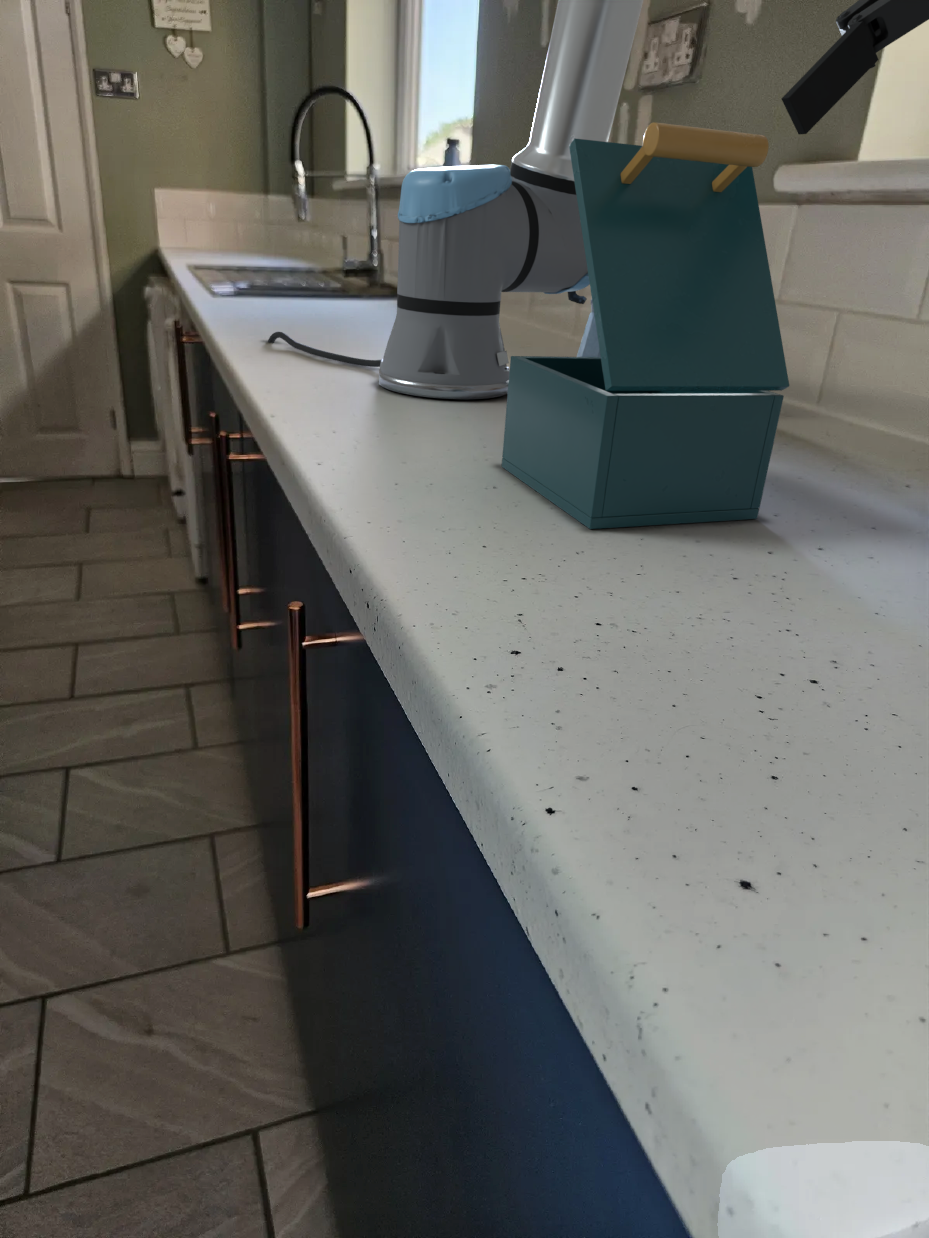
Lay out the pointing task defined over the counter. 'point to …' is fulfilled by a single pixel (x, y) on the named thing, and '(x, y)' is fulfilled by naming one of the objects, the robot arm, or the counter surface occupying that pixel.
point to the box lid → (679, 261)
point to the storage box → (635, 446)
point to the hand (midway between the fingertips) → (869, 110)
